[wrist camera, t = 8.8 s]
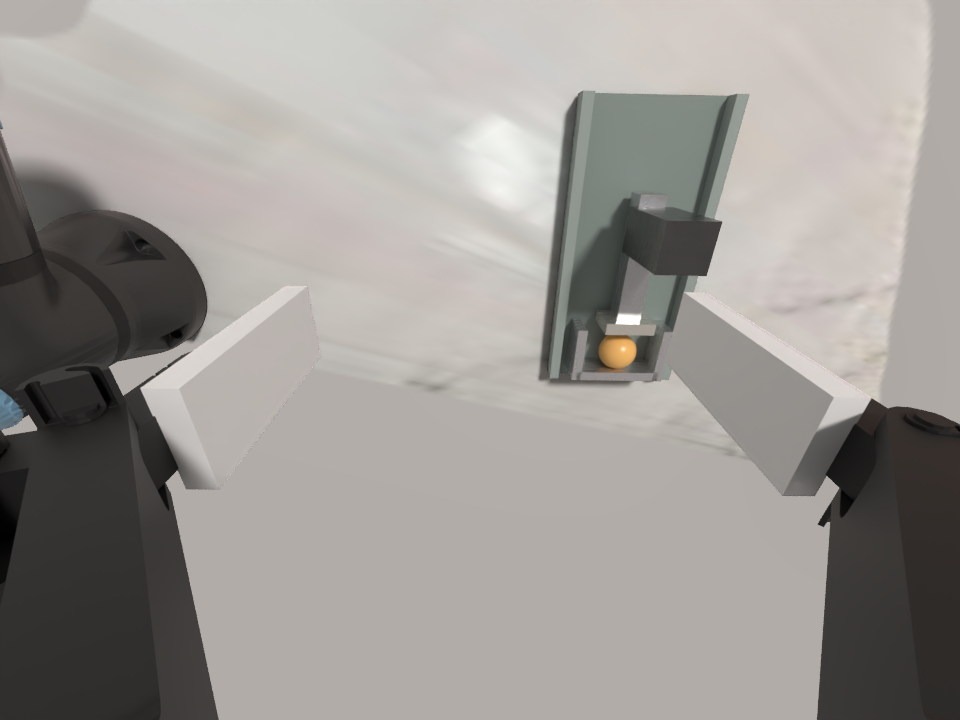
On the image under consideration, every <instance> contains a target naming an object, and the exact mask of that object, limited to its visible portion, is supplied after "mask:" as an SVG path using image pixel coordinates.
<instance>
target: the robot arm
mask: <svg viewBox="0 0 960 720" xmlns="http://www.w3.org/2000/svg"><path fill="white" fill-rule="evenodd" d="M0 129H3V127H2V124H1V122H0ZM206 309H207V300H206V293H205V289H204V285H203V282H202V280H201V277H200V275H199V273H198V271H197V269H196V268H195V266H194V264H193V263H192V261H191V260H190V259H189V257H188V256H187V255H186V253H185V252H184V251H183V250H182V249H181V248H180V247H179V246H178V245H177V244H176V243H175V242H174V241H173V240H172V239H171V238H170V237H168V236H167V235H166V234H165V233H163V232H162V231H160V230H159V229H158V228H156V227H154V226H153V225H151V224H149V223H147V222H145V221H143V220H141V219H139V218H137V217H134V216H131V215H128V214H125V213H121V212H116V211H108V210H96V211H89V212H83V213H77V214H72V215H68V216H65V217H62V218H60V219H58V220H56V221H54V222H52V223H51V224H49V225H48V226H47V227H45V228H44V229H42V230H41V231H39V232H38V233H36V232H35V229H34V226H33V223H32V220H31V217H30V215H29V212H28V209H27V206H26V203H25V200H24V197H23V194H22V191H21V189H20V186H19V183H18V180H17V177H16V174H15V171H14V168H13V166H12V163H11V160H10V157H9V154H8V151H7V148H6V145H5V143H4V140H3V137H2V134H1V131H0V720H218V715H217V710H216V705H215V701H214V696H213V691H212V686H211V682H210V677H209V672H208V668H207V663H206V658H205V653H204V648H203V644H202V639H201V634H200V629H199V625H198V620H197V615H196V610H195V606H194V601H193V596H192V591H191V587H190V582H189V577H188V572H187V568H186V563H185V558H184V553H183V549H182V544H181V540H180V535H179V530H178V525H177V520H176V516H175V511H174V506H173V501H172V497H171V493H170V491H169V489H168V487H167V485H166V483H165V482H166V481H167V480H168V479H169V478H170V477H171V476H172V475H173V474H174V473H175V472H176V471H177V470H178V472H179V474H180V476H181V479H182V481H183V483H184V485H185V487H186V489H212V490H220V489H221V487H222V486H223V485H224V483H225V482H226V481H227V479H228V478H229V477H230V475H231V474H232V473H233V472H234V470H235V469H236V467H237V466H238V465H239V463H240V462H241V461H242V460H243V458H244V457H245V456H246V454H247V453H248V452H249V450H250V449H251V447H253V445H254V444H255V443H256V441H257V440H258V439H259V437H260V436H261V435H262V433H263V432H264V431H265V429H266V428H267V427H268V426H269V424H270V423H271V422H272V420H273V419H274V418H275V416H276V415H277V414H278V412H279V411H280V410H281V408H282V407H283V406H284V405H285V403H286V402H287V401H288V399H289V398H290V397H291V395H292V394H293V393H294V391H295V390H296V389H297V388H298V386H299V385H300V383H301V382H302V381H303V380H304V378H305V377H306V376H307V374H308V373H309V372H310V370H311V369H312V368H313V367H314V365H315V364H316V363H317V361H318V360H319V359H320V357H321V354H320V349H319V344H318V338H317V333H316V328H315V323H314V318H313V313H312V308H311V303H310V298H309V292H308V287H307V286H284V287H283V288H281V289H280V290H279V291H277V292H276V293H274V294H273V295H271V296H270V297H269V298H267V299H266V300H264V301H263V302H262V303H260V304H259V305H257V306H256V307H254V308H253V309H252V310H250V311H249V312H247V313H246V314H245V315H243V316H242V317H240V318H239V319H237V320H236V321H235V322H233V323H232V324H230V325H229V326H228V327H226V328H225V329H223V330H222V331H220V332H219V333H218V334H216V335H215V336H213V337H212V338H210V339H209V340H208V341H206V342H205V343H203V344H202V345H201V346H199V347H198V348H196V349H195V350H193V351H191V352H189V353H187V354H184V355H182V356H180V357H179V358H178V359H176V360H175V361H173V362H172V363H170V364H169V365H168V367H165V368H163V369H162V370H160V371H159V372H157V373H156V376H152V377H150V378H149V379H147V380H146V381H144V382H143V383H142V384H140V385H139V386H137V387H136V388H134V389H133V390H131V391H130V392H129V393H127V394H126V395H124V396H123V395H122V393H121V391H120V389H119V387H118V385H117V383H116V381H115V379H114V376H113V374H112V372H111V370H110V369H109V366H111V365H112V364H114V363H116V362H117V361H122V360H127V359H132V358H137V357H142V356H147V355H152V354H157V353H162V352H165V351H168V350H170V349H173V348H175V347H177V346H178V345H180V344H182V343H183V342H185V341H186V340H188V339H189V338H191V337H192V336H193V335H194V334H195V333H196V332H197V331H198V330H199V329H200V327H201V325H202V323H203V321H204V318H205V315H206ZM665 362H666V363H667V364H668V365H669V367H670V368H671V369H672V370H673V371H674V372H675V373H676V375H677V376H678V377H679V378H680V379H681V380H682V381H683V383H684V384H685V385H686V386H687V387H688V388H689V389H690V391H691V392H692V393H693V394H694V395H695V396H696V397H697V399H698V400H699V401H700V402H701V403H702V404H703V405H704V407H705V408H706V409H707V410H708V411H709V412H710V413H711V415H712V416H713V417H714V418H715V419H716V420H717V421H718V423H719V424H720V425H721V426H722V427H723V428H724V429H725V431H726V432H727V433H728V434H729V435H730V436H731V438H732V439H733V440H734V441H735V442H736V443H737V444H738V446H739V447H740V448H741V449H742V450H743V451H744V452H745V454H746V455H747V456H748V457H749V458H750V459H751V460H752V462H753V463H754V464H755V465H756V466H757V467H758V468H759V470H760V471H761V472H762V473H763V474H764V475H765V476H766V478H767V479H768V480H769V481H770V482H771V483H772V484H773V486H774V487H775V488H776V489H777V490H778V491H779V492H780V493H781V495H782V496H815V495H816V493H817V491H818V490H819V488H820V486H821V485H822V483H823V481H824V479H825V478H826V476H828V477H829V478H830V479H831V480H832V481H833V482H834V483H835V484H836V485H837V486H838V487H839V490H838V492H837V493H836V495H835V497H834V498H833V500H832V502H831V503H830V505H829V506H828V508H827V510H826V511H825V513H824V515H823V516H822V518H821V519H820V521H819V523H818V525H820V526H823V527H824V526H825V524H826V523H827V522H830V536H829V551H828V565H827V581H826V595H825V610H824V626H823V640H822V654H821V670H820V685H819V699H818V714H817V720H960V425H959V424H958V423H956V422H954V421H951V420H949V419H947V418H945V417H943V416H941V415H938V414H935V413H932V412H927V411H924V410H919V409H914V408H909V407H892V408H889V409H888V408H886V407H884V406H883V405H881V404H880V403H878V402H877V401H875V400H874V399H872V398H871V397H869V396H868V395H866V394H865V393H863V392H862V391H860V390H858V389H857V388H855V387H854V386H852V385H851V384H849V383H847V382H846V381H844V380H843V379H841V378H840V377H838V376H836V375H835V374H833V373H832V372H830V371H828V370H827V369H825V368H824V367H822V366H821V365H819V364H817V363H816V362H814V361H813V360H811V359H810V358H808V357H806V356H805V355H803V354H802V353H800V352H799V351H797V350H795V349H794V348H792V347H791V346H789V345H788V344H786V343H784V342H783V341H781V340H780V339H778V338H776V337H775V336H773V335H772V334H770V333H769V332H767V331H765V330H764V329H762V328H761V327H759V326H758V325H756V324H754V323H753V322H751V321H750V320H748V319H747V318H745V317H743V316H742V315H740V314H739V313H737V312H736V311H734V310H732V309H731V308H729V307H728V306H726V305H724V304H723V303H721V302H720V301H718V300H717V299H715V298H713V297H712V296H710V295H709V294H707V293H706V292H684V293H683V297H682V300H681V304H680V308H679V312H678V315H677V319H676V323H675V326H674V330H673V334H672V337H671V341H670V345H669V349H668V352H667V356H666V360H665ZM27 415H29V416H30V417H31V419H32V420H33V422H34V423H35V425H36V427H37V431H32V432H26V433H19V434H14V435H7V436H5V435H4V434H3V433H2V431H1V430H3V429H6V428H9V427H12V426H14V425H16V424H17V423H18V422H20V421H21V420H22V418H24V417H26V416H27Z"/></svg>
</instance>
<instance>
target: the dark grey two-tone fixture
mask: <svg viewBox="0 0 960 720" xmlns="http://www.w3.org/2000/svg"><path fill="white" fill-rule="evenodd" d="M667 197H668V195H665V194H661V193H655V192H632V194H631V200H630V205H629V211H628V216H627V222H626V227H625V233H624V238H623V243H622V249H621V254H620V260H619V265H618V271H617V276H616V282H615V287H614V293H613V298H612V304H611V309H610V310H597V312H596V318H595V320H596V322H597V323H598V325H599V326H600V328H601V329H602V331H603V332H604V334H605V335H646V336H654V334H655V330H656V326H657V325H656V324H655V323H654V322H653V321H652V320H651V319H650V318H649V317H648V316H647V315H646V314H645V313H644V312H643V311H642V309H643V305H644V300H645V296H646V291H647V287H648V282H649V278H650V273H652V274H654V275H676V276H707V272H708V269H709V265H710V262H711V259H712V255H713V252H714V248H715V245H716V241H717V238H718V235H719V231H720V228H721V224H722V221H718V220H715V219H712V218H708V217H705V216H702V215H698V214H695V213H692V212H688V211H685V210H682V209H678V208H675V207H665V206H666V202H667Z"/></svg>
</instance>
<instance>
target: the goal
mask: <svg viewBox="0 0 960 720" xmlns="http://www.w3.org/2000/svg"><path fill="white" fill-rule="evenodd" d="M652 321H653V322H654V323H655V324H656V325H657V326H656V330H655V334H654V336H648V338H647V343H646V347H645V351H644V355H643V359H634V360H633V362H632V363H631V364H630V365H628V366H626V367H624V368H620V369H614V368H610V367H608V366H607V365H605V364H604V363H603V362H602V361H601V359H600V358H584V355H585V348H586V342H587V336H588V330H587V328H586V326H585V325H584V323H583V321H582V320H581V319H580V318H572V322H571V329H570V337H569V344H568V351H567V359H566V367H567V370H568V373H569V375H570V378H571V380H608V381H661V378H662V375H663V371H664V367H665V364H666V362H665V360H666V356H667V352H668V349H669V345H670V341H671V337H672V334H673V331H672V330H671V329H670V328H669V327H668V326H667V325H666V324H665V323H664V322H663V321H662V320H652Z"/></svg>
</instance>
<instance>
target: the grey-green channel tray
mask: <svg viewBox="0 0 960 720" xmlns="http://www.w3.org/2000/svg"><path fill="white" fill-rule="evenodd" d="M748 98H749V94H735V95H730V96H707V95H658V94H609V93H595V91H582V92H580V93H579V94H578V99H577V108H576V117H575V126H574V135H573V144H572V153H571V162H570V171H569V180H568V189H567V198H566V207H565V216H564V225H563V234H562V243H561V251H560V260H559V269H558V278H557V287H556V296H555V305H554V314H553V323H552V332H551V341H550V350H549V359H548V368H547V371H548V374H549V377H550V378H559V372H561V373H568V370H567V367H566V359H567V351H568V344H569V337H570V329H571V322H572V318H580V319H581V320H582V321H583V323H584V325H585V326H586V328H587V330H588V336H587V342H586V348H585V355H584V358H600V357H599V352H598V350H599V345H600V343H601V341H602V340H603V339H604V338H605V337H606V336H608V335H605V334H604V332H603V331H602V329H601V328H600V326H599V325H598V323H597V322H596V320H595V318H596V312H597V310H610V309H611V304H612V298H613V293H614V287H615V282H616V276H617V271H618V265H619V260H620V254H621V249H622V243H623V238H624V233H625V227H626V222H627V216H628V211H629V205H630V200H631V194H632V192H655V193H661V194H665V195H668V197H667V202H666V206H665V207H675V208H678V209H682V210H685V211H688V212H692V213H695V214H698V215H702V216H705V217H708V218H712V219H714V218H715V214H716V211H717V207H718V204H719V200H720V197H721V193H722V190H723V186H724V183H725V179H726V175H727V172H728V168H729V165H730V161H731V158H732V154H733V151H734V147H735V144H736V140H737V137H738V133H739V129H740V126H741V122H742V119H743V115H744V112H745V108H746V105H747V101H748ZM697 278H698V276H676V275H654V274H652V273H650V278H649V282H648V287H647V291H646V296H645V300H644V305H643V309H642V311H643V312H644V313H645V314H646V315H647V316H648V317H649V318H650V319H651V320H662V321H663V322H664V323H665V324H666V325H667V326H668V327H669V328H670V329H671V330H672V331H673V330H674V326H675V323H676V319H677V315H678V312H679V308H680V304H681V300H682V297H683V293H684V292H694V289H695V285H696V282H697ZM628 336H629V337H630V338H631V339H632V340H633V341H634V343H635V345H636V356H635V359H643V355H644V351H645V347H646V343H647V338H648V336H646V335H628ZM671 370H672V369H671V368H670V367H669V365H668V364H667V363H666V364H665V367H664V371H663V375H662V378H661V380H669V377H670V374H671Z"/></svg>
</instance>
